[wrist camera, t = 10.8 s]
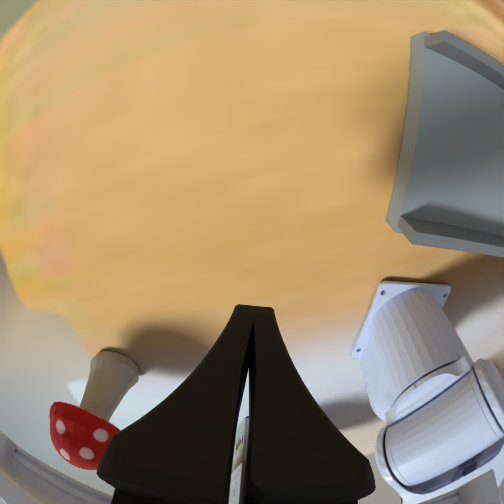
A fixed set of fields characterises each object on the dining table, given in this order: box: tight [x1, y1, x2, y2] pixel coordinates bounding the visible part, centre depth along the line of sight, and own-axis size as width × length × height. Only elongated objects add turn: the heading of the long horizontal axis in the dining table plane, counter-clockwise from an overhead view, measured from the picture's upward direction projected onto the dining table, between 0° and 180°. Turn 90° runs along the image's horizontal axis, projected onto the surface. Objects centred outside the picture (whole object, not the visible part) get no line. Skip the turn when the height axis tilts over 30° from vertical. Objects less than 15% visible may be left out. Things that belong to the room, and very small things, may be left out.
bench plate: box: [386, 30, 504, 257], centre depth 13 cm, size 14×17×4 cm
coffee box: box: [228, 418, 249, 504], centre depth 28 cm, size 9×6×16 cm
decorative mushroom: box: [49, 351, 139, 470], centre depth 23 cm, size 10×9×15 cm
